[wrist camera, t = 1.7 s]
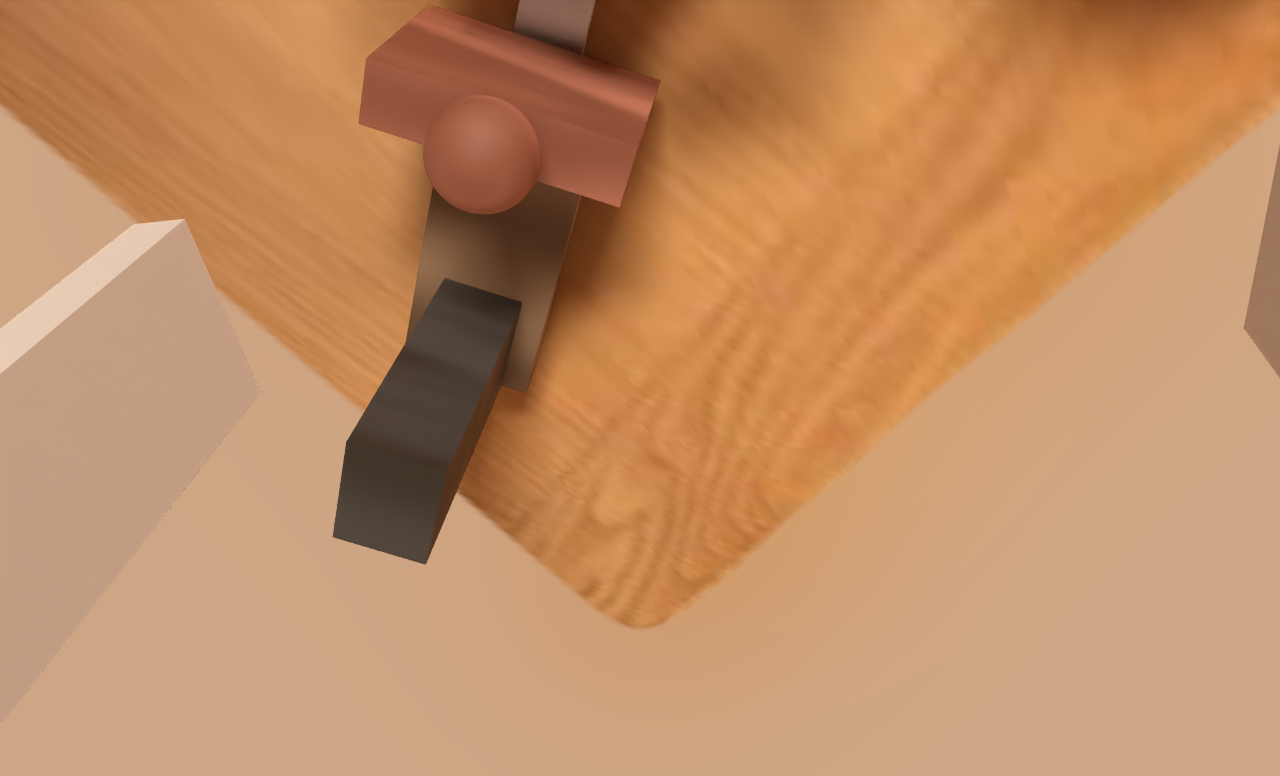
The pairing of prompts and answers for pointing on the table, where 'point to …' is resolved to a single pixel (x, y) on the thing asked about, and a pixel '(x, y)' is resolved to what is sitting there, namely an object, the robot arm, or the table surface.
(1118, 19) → the table surface
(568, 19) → the rail
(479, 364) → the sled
